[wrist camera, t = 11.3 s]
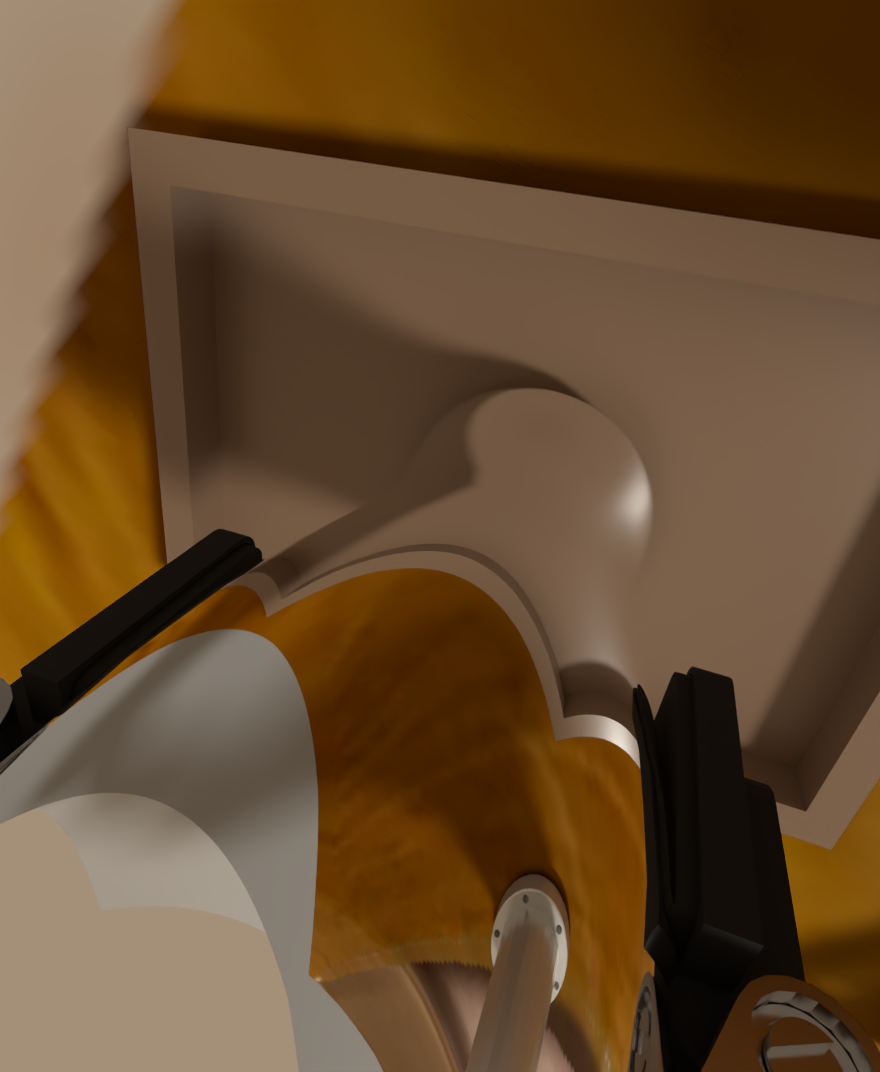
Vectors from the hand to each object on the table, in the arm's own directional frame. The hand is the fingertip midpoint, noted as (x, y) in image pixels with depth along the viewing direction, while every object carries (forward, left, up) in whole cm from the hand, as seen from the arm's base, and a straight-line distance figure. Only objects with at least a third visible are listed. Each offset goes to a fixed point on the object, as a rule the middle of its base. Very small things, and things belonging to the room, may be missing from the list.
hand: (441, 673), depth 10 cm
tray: (0, 0, -9) cm, 9 cm away
